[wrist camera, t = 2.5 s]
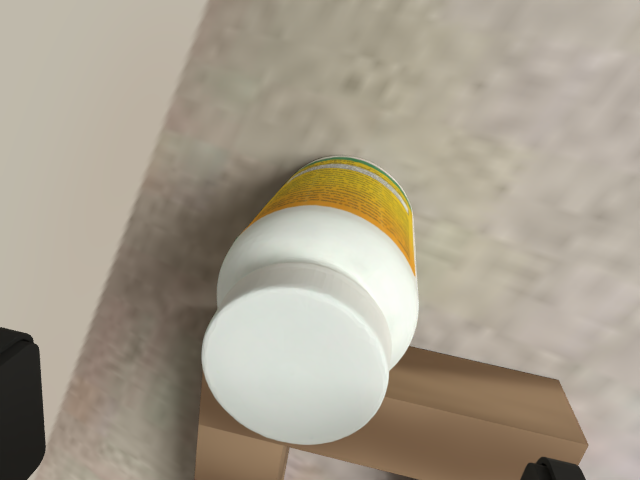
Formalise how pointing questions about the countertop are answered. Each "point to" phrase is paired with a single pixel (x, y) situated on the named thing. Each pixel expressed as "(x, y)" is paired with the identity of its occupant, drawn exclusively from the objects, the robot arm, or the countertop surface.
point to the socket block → (418, 427)
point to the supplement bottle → (315, 304)
